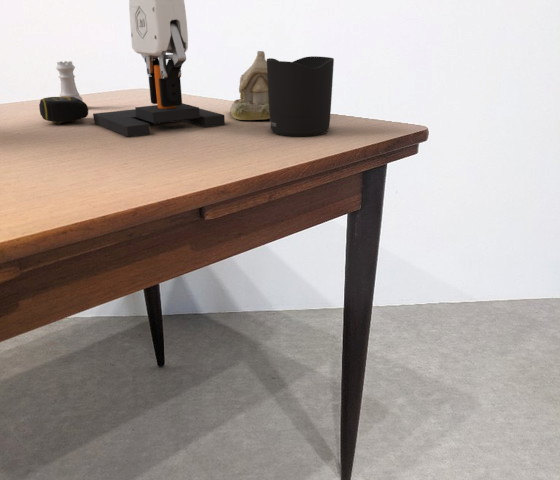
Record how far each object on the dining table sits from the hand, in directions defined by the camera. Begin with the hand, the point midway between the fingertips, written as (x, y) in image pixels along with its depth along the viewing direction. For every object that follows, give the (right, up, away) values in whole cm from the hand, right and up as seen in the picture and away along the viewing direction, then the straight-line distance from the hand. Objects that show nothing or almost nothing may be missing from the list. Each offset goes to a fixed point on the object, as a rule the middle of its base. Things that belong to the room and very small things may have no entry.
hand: (166, 103), depth 91 cm
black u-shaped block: (-2, -2, +4) cm, 5 cm away
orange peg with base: (0, -2, +1) cm, 2 cm away
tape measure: (-17, -1, +7) cm, 19 cm away
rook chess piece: (-21, +5, +19) cm, 29 cm away
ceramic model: (+14, +1, +12) cm, 18 cm away
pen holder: (+20, -5, -2) cm, 21 cm away
